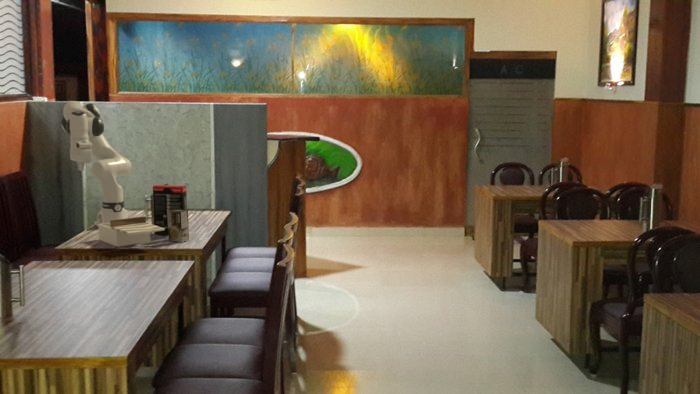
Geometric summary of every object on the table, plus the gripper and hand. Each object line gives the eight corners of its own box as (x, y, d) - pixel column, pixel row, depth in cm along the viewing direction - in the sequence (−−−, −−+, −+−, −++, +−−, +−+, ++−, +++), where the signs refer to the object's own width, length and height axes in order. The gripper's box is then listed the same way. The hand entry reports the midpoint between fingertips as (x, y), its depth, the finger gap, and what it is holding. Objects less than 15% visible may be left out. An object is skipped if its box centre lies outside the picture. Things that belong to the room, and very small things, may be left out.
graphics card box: (188, 234, 403) (186, 184, 399) (184, 236, 397) (182, 186, 392) (158, 233, 405) (156, 184, 401) (153, 236, 398) (151, 186, 394)
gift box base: (99, 241, 385) (98, 224, 383) (131, 236, 397) (131, 220, 395) (116, 248, 368) (116, 230, 367) (150, 243, 380) (149, 226, 379)
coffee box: (189, 240, 387) (188, 210, 385) (181, 242, 381) (181, 212, 379) (175, 238, 391) (174, 208, 389) (167, 241, 385) (166, 210, 383)
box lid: (110, 228, 372) (109, 220, 371) (144, 223, 384) (144, 216, 383) (129, 235, 355) (129, 226, 354) (164, 230, 367) (164, 222, 366)
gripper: (66, 142, 382) (67, 169, 384) (81, 145, 367) (82, 172, 369) (78, 142, 386) (79, 168, 388) (93, 144, 371) (95, 171, 373)
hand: (81, 170), depth 378 cm, fingers closed
